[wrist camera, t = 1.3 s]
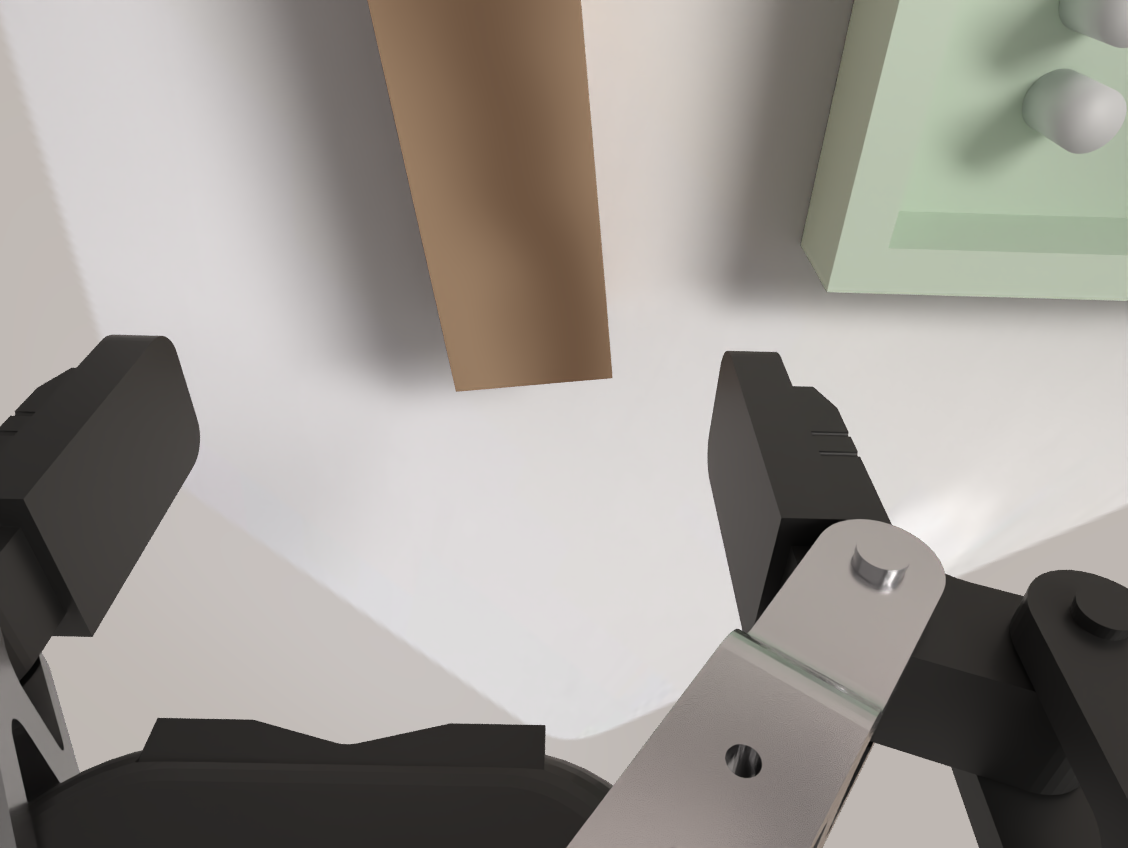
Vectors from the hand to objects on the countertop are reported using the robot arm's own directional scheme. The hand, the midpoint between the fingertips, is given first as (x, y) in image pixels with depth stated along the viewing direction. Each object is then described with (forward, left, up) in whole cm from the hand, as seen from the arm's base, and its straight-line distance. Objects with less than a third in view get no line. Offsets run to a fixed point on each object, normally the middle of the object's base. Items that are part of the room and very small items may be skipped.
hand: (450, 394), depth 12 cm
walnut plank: (0, 0, -16) cm, 16 cm away
